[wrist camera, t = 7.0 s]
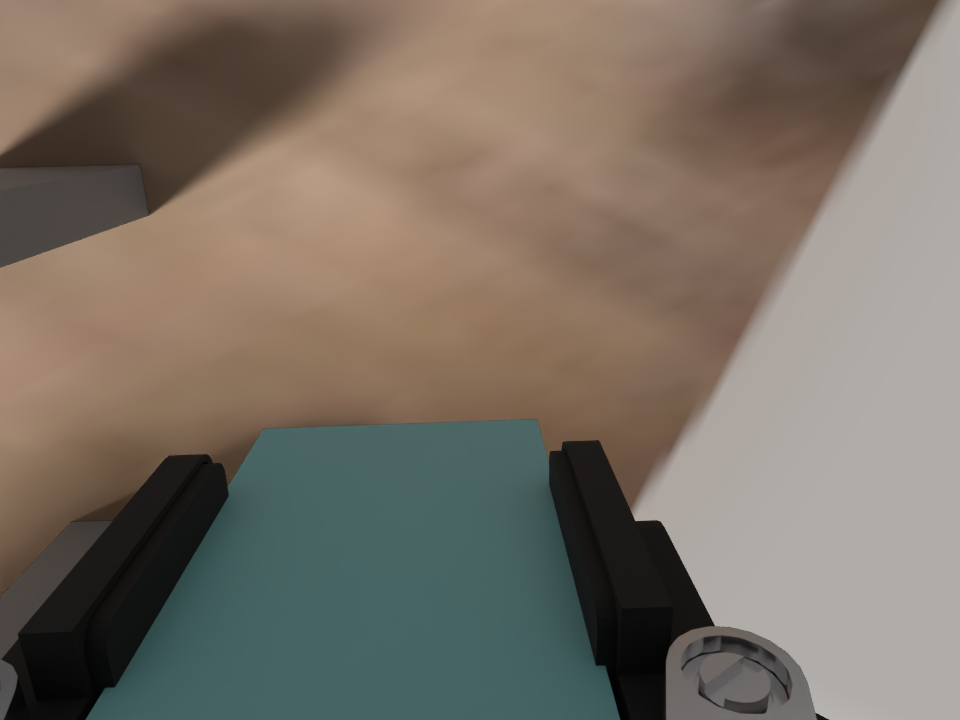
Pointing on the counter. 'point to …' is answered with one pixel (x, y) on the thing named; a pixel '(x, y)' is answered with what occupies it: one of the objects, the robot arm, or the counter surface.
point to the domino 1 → (64, 205)
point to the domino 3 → (375, 588)
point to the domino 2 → (44, 578)
